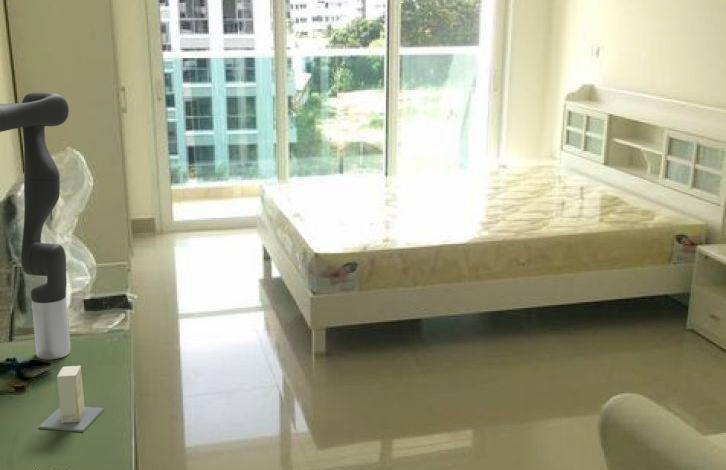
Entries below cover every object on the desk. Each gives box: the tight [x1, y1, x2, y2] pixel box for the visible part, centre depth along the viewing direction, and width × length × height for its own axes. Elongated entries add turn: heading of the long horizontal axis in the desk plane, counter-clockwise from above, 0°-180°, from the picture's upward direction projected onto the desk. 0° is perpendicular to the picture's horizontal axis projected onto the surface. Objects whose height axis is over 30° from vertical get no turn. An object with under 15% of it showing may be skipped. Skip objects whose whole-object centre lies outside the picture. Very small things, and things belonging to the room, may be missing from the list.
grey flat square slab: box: [38, 406, 105, 433], centre depth 182 cm, size 11×11×1 cm
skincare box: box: [56, 365, 86, 423], centre depth 180 cm, size 6×4×12 cm
